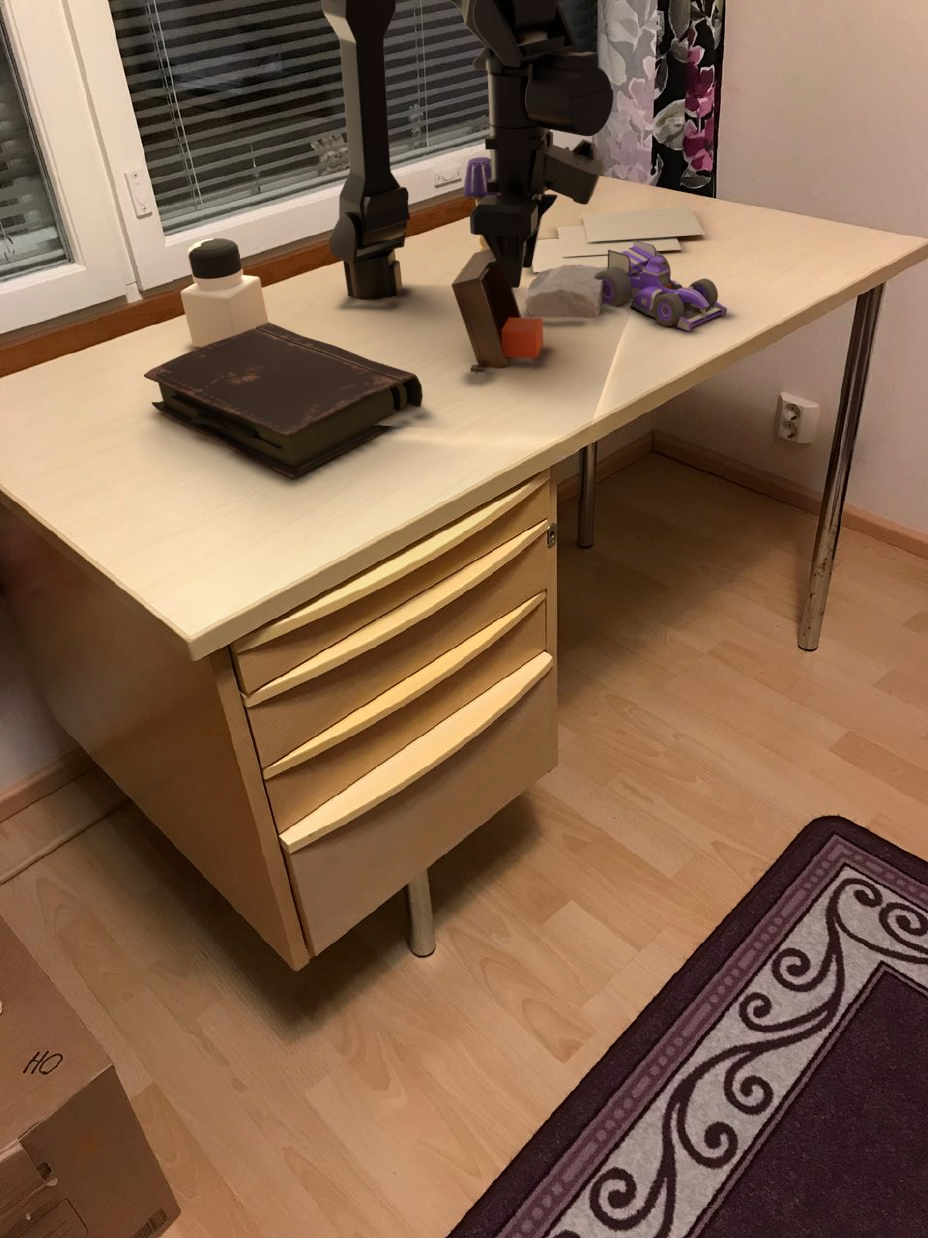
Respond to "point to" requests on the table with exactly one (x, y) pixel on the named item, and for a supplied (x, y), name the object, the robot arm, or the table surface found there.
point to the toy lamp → (478, 185)
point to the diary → (283, 396)
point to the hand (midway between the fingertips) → (520, 277)
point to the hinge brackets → (478, 368)
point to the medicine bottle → (220, 293)
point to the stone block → (566, 292)
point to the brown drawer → (485, 306)
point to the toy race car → (656, 287)
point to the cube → (522, 337)
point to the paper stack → (614, 236)
